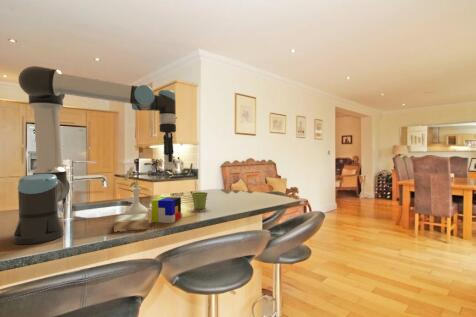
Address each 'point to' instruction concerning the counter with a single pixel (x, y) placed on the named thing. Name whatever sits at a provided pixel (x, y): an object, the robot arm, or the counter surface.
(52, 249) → the counter surface
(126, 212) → the flower in vase
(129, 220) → the plinth
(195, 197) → the plant pot
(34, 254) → the counter surface
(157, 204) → the puzzle toy
